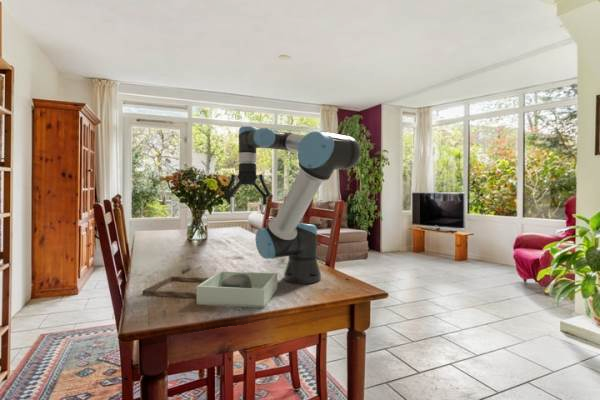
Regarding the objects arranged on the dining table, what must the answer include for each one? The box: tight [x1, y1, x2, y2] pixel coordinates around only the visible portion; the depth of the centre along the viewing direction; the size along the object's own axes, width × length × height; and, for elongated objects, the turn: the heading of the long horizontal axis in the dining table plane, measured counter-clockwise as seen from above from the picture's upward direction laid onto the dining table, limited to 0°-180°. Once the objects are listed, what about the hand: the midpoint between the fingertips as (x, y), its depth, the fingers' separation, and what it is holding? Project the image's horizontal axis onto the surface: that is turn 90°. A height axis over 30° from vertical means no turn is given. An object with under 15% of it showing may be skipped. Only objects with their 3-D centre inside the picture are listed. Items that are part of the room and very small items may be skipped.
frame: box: [142, 275, 210, 299], centre depth 128 cm, size 22×20×2 cm
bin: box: [196, 270, 278, 309], centre depth 119 cm, size 22×21×6 cm
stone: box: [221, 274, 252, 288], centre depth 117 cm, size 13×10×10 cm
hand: (247, 212), depth 149 cm, fingers open, 13 cm apart
